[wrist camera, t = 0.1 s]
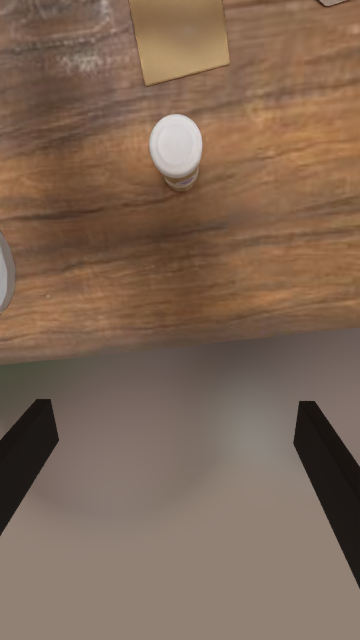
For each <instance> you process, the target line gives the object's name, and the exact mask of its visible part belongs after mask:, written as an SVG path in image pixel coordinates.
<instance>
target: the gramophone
mask: <svg viewBox="0 0 360 640" xmlns="http://www.w3.org/2000/svg"><path fill="white" fill-rule="evenodd" d="M15 274H16V269H15V265H14V261H13V257H12V253H11V249H10V247H9V245H8V243H7V241H6V240H5V238H4V236H3V234H2V233H1V231H0V314H1V313H2V312H3V311H4V310H5V309H6V308H7V307H8V304H9V302H10V300H11V297H12V295H13V293H14V290H15Z"/></svg>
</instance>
